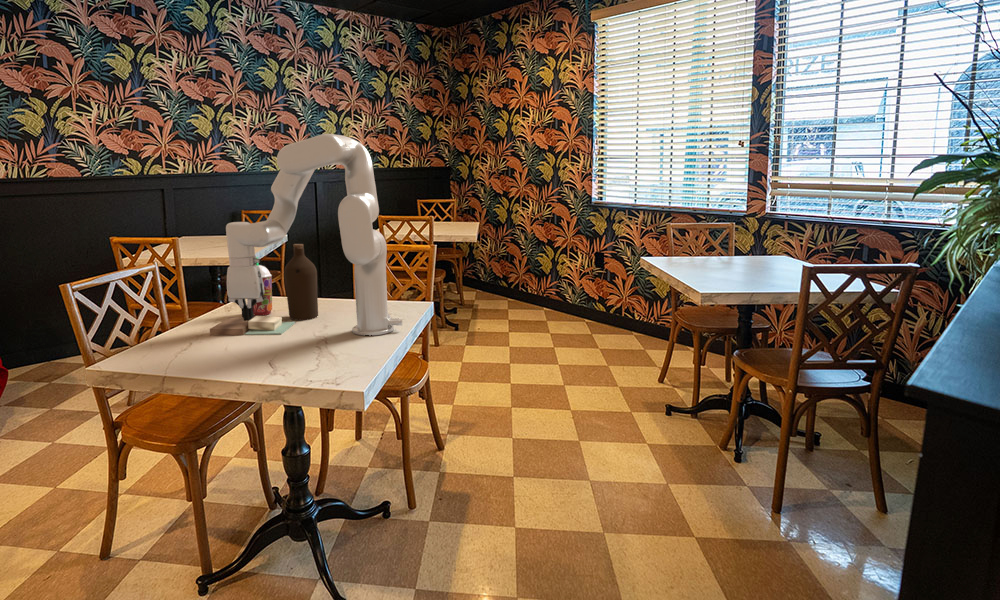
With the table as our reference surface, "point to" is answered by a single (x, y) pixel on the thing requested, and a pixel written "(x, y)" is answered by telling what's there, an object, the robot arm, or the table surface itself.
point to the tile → (265, 323)
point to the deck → (231, 327)
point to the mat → (279, 330)
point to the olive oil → (301, 286)
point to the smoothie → (266, 304)
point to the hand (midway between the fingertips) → (248, 319)
